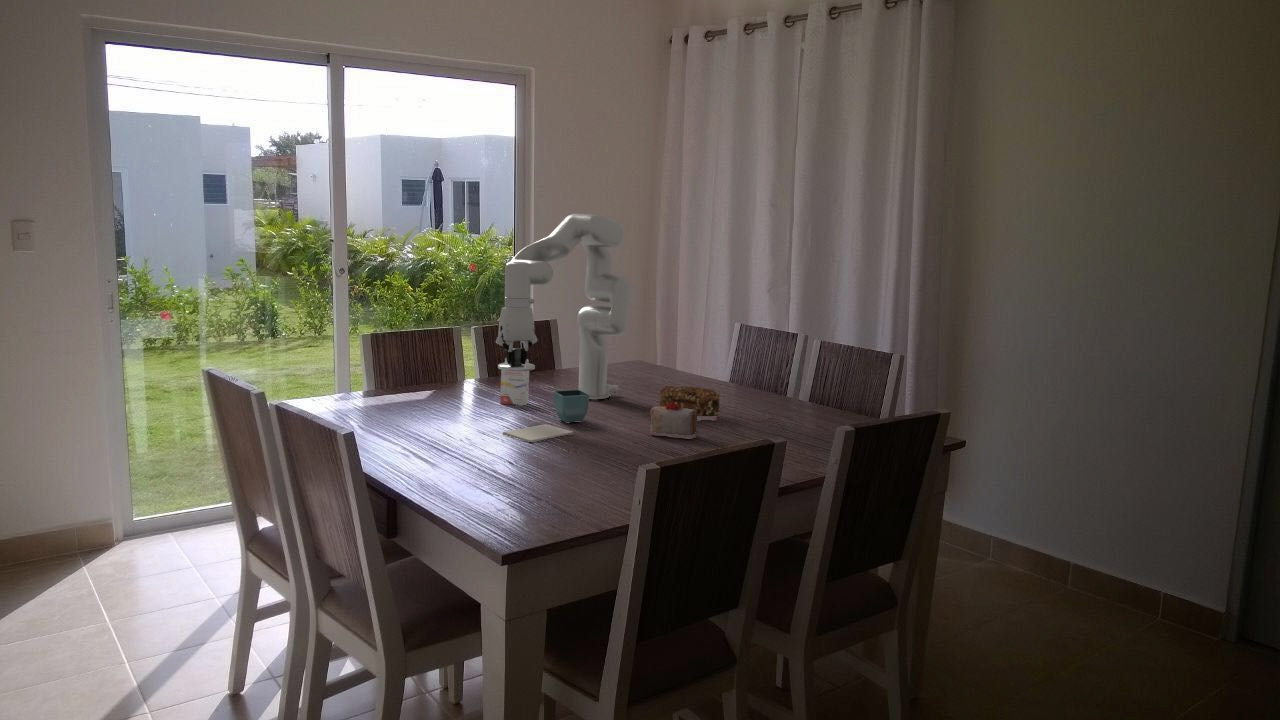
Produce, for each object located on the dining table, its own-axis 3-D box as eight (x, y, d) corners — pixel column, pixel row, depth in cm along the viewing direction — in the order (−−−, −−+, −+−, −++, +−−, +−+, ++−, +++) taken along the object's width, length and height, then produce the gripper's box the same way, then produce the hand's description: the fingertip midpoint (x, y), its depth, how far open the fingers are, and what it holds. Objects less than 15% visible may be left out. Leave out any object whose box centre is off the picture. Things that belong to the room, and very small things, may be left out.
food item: (646, 436, 267) (647, 403, 266) (653, 430, 275) (655, 398, 273) (692, 441, 264) (693, 407, 262) (698, 435, 271) (700, 402, 270)
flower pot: (551, 419, 284) (552, 390, 283) (578, 417, 288) (579, 389, 286) (561, 425, 276) (562, 396, 275) (589, 424, 280) (590, 394, 278)
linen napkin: (545, 426, 274) (545, 424, 274) (573, 434, 266) (573, 431, 266) (502, 434, 263) (502, 431, 262) (530, 443, 255) (530, 440, 254)
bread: (658, 420, 290) (659, 388, 288) (660, 412, 300) (661, 382, 298) (718, 423, 288) (720, 391, 287) (717, 415, 299) (719, 385, 297)
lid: (522, 363, 288) (523, 345, 287) (541, 369, 280) (542, 350, 279) (491, 366, 281) (491, 347, 281) (509, 372, 273) (509, 352, 272)
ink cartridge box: (499, 404, 302) (500, 359, 300) (503, 401, 307) (504, 357, 305) (525, 405, 302) (526, 361, 299) (528, 402, 306) (529, 358, 304)
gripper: (537, 301, 285) (535, 360, 288) (486, 302, 276) (486, 363, 279) (547, 304, 278) (546, 364, 281) (496, 305, 270) (495, 367, 273)
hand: (516, 363), depth 280 cm, fingers closed on lid, 3 cm apart
